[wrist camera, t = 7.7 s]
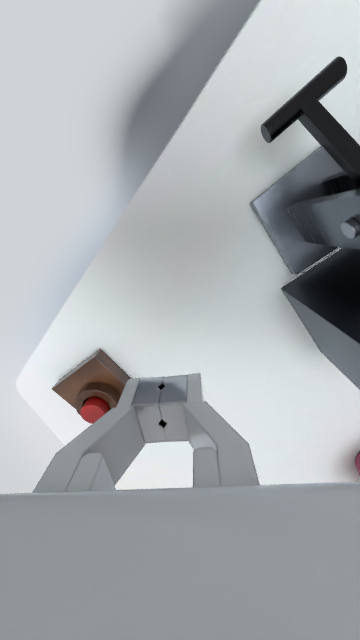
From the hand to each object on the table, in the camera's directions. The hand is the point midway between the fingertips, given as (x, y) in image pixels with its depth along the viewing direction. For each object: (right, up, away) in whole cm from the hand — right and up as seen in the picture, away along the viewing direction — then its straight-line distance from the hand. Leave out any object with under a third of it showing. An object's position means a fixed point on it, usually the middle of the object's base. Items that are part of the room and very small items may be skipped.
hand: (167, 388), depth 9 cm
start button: (-12, -10, +24) cm, 29 cm away
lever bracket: (+15, +15, +16) cm, 27 cm away
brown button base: (-12, -9, +28) cm, 31 cm away
